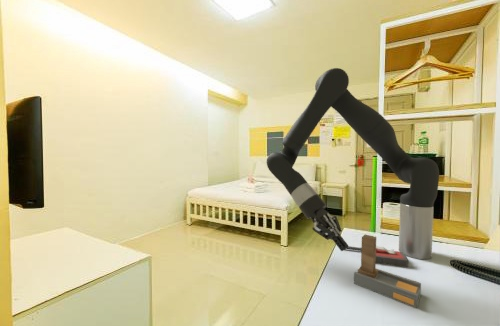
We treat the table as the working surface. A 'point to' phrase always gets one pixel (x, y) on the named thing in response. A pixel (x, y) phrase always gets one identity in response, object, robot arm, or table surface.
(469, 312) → the table surface
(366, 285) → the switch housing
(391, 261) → the walkie-talkie
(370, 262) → the brown wooden block
